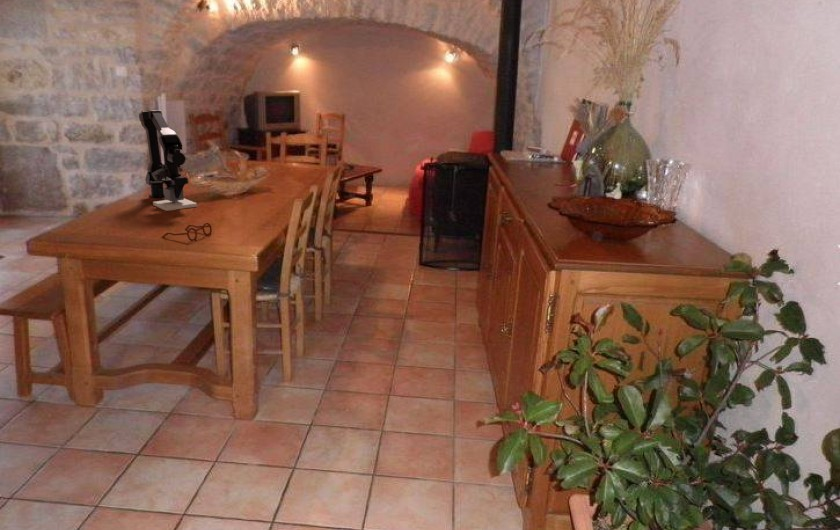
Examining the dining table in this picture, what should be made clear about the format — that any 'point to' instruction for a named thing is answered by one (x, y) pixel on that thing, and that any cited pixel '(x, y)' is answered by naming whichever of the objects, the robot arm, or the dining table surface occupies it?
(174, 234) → the glasses
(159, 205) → the base plate
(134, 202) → the dining table surface
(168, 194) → the grey box housing
